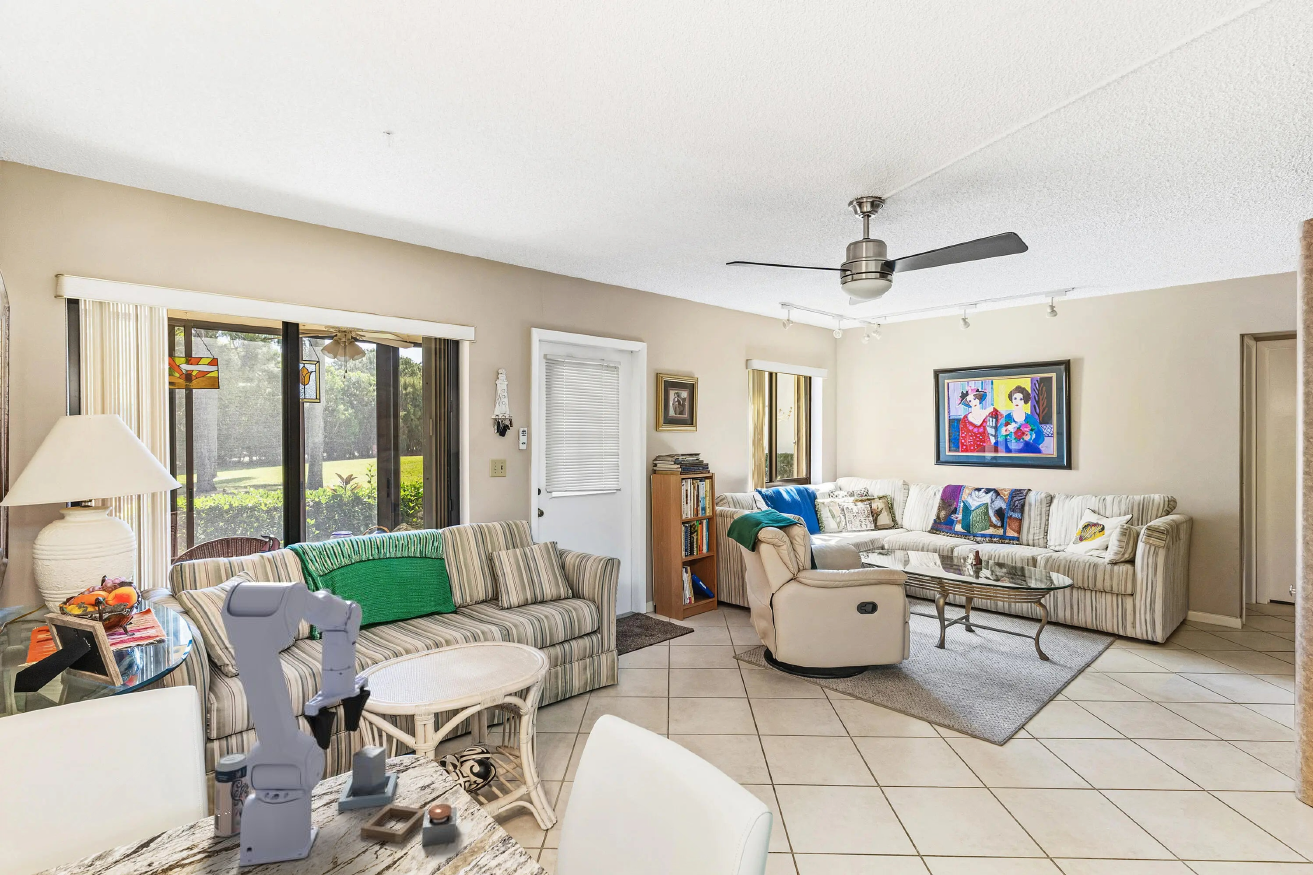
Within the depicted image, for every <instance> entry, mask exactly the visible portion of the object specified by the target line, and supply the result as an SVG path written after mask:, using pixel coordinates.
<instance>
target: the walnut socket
mask: <svg viewBox="0 0 1313 875" xmlns="http://www.w3.org/2000/svg"><path fill="white" fill-rule="evenodd" d="M427 810H428V809H424V808H420V807H419V808H418V807H412V806H411V807H410V806H406V805H405V806H404V805H398V804H388V805H385V807H384V808H382V809H381V810H380V811H379V812H378V813H376V814H375V815H373V817H372V818H370V820H368V821H367V822H366V823H364V825H362V826H361V827H360V838H365V839H369V840H370V839H372V840H377V841H383V842H389V843H396V844H402V843H403V842H405V840H407V838H408V837H409V836H411V835H412V834H413V833H414V832H415V831H416V830H417V829H418V828H419V827H420V826H421V825H423V821H424V816H425V811H427ZM389 818H397V819H404V820H408V821H407V822H406V823H405V824H404V825H403V826H401V828H399V829H398V828H389V827H383V826H382V825H383V823H384V822H386V821H387V820H388V819H389Z"/></svg>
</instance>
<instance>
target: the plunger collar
mask: <svg viewBox="0 0 1313 875" xmlns="http://www.w3.org/2000/svg"><path fill="white" fill-rule="evenodd" d="M426 810H427V811H425V816H424V821H423V823H422V830H421V836H422V837H421V846H422V847H427V846H435V845H442V844H444V845H445V844H449V843H450V844H451V843H455V842H456V835H457V834H456V832H457V806H456V807H455V806H453V807H451V814H450V815H449V816H448V821H444V822H436V823H432V819H431V818H429V816H428V812H429V809H426Z"/></svg>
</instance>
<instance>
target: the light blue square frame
mask: <svg viewBox="0 0 1313 875" xmlns="http://www.w3.org/2000/svg"><path fill="white" fill-rule="evenodd" d="M397 782H398V772H390V773H386V777H385V785H387V787H386V789H385V793H382V794H378V795H369V796H360V797H352V796H351V795H352V777H351V776H350V777H348V778H347V780H346V783H345V785H344V787H343V790H342V792H341V794H340V796H339V798H338V801H337V811H345V810H352V809H361V808H369V807H372V808H373V807H381V806H387V805H388V804H391V803H392V800H393V797H394V793H395V788H396V786H397ZM350 796H351V797H350Z"/></svg>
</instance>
